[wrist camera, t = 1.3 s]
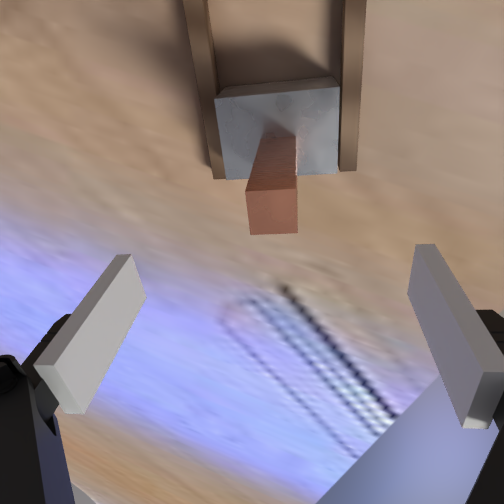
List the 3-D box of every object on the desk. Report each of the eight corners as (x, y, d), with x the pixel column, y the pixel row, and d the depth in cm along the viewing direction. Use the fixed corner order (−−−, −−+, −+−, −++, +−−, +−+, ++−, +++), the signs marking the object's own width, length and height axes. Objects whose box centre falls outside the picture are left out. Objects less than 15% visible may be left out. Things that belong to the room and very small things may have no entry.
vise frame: (149, -240, 23) (80, -360, 16) (378, -295, 21) (423, -465, 14) (217, 172, 39) (198, 209, 31) (353, 163, 37) (368, 201, 29)
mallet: (226, 86, 34) (175, 136, 20) (333, 76, 32) (361, 121, 18) (235, 158, 37) (199, 243, 23) (331, 151, 36) (354, 237, 22)
